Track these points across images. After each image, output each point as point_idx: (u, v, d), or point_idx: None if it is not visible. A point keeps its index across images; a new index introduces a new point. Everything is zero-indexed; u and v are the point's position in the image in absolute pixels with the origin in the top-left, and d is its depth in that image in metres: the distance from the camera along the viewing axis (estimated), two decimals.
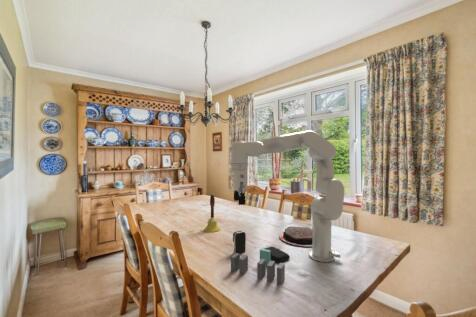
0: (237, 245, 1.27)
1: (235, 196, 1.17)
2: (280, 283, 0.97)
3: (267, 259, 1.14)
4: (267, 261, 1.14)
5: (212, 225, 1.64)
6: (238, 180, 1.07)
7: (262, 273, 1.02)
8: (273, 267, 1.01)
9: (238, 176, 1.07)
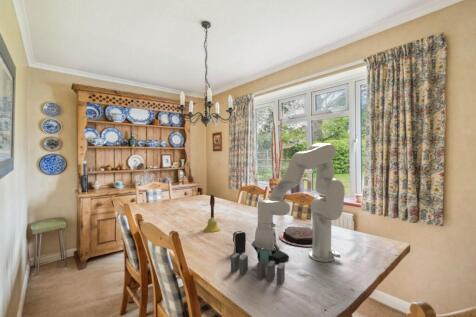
0: (237, 245, 1.27)
1: (259, 256, 1.16)
2: (280, 283, 0.97)
3: (267, 259, 1.14)
4: (267, 261, 1.14)
5: (212, 225, 1.64)
6: (273, 239, 1.12)
7: (262, 273, 1.02)
8: (273, 267, 1.01)
9: (273, 235, 1.12)
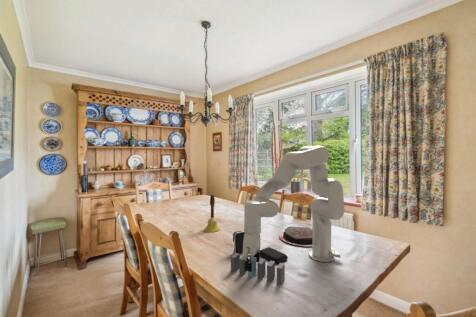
0: (237, 245, 1.27)
1: None
2: (280, 283, 0.97)
3: (255, 266, 1.06)
4: (255, 269, 1.06)
5: (212, 225, 1.64)
6: None
7: (262, 273, 1.02)
8: (273, 267, 1.01)
9: None
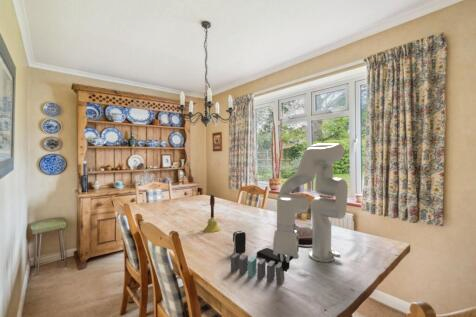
0: (237, 245, 1.27)
1: None
2: (280, 283, 0.97)
3: (255, 266, 1.06)
4: (255, 269, 1.06)
5: (212, 225, 1.64)
6: (296, 244, 0.95)
7: (262, 273, 1.02)
8: (273, 267, 1.01)
9: (295, 239, 0.95)
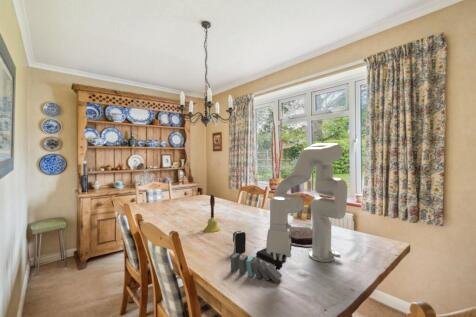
0: (237, 245, 1.27)
1: None
2: (277, 280, 0.98)
3: None
4: None
5: (212, 225, 1.64)
6: (288, 242, 0.96)
7: (259, 271, 1.03)
8: (264, 265, 1.03)
9: (288, 238, 0.96)
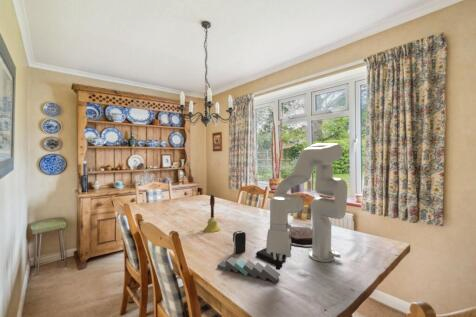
0: (237, 245, 1.27)
1: None
2: (275, 279, 0.98)
3: None
4: None
5: (212, 225, 1.64)
6: (288, 242, 0.96)
7: None
8: (258, 266, 1.04)
9: (288, 238, 0.96)
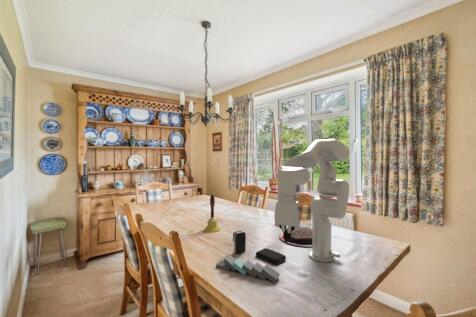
0: (237, 245, 1.27)
1: (286, 236, 0.98)
2: (274, 279, 0.98)
3: None
4: None
5: (212, 225, 1.64)
6: (297, 214, 0.95)
7: None
8: (258, 266, 1.05)
9: (296, 209, 0.95)
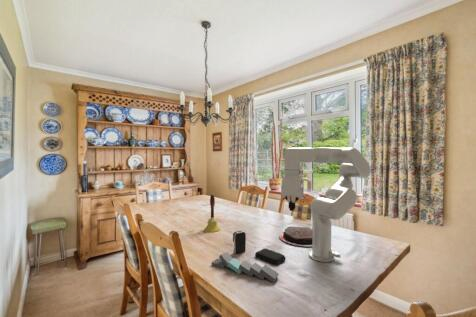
0: (237, 245, 1.27)
1: None
2: (273, 279, 0.98)
3: (239, 263, 1.10)
4: None
5: (212, 225, 1.64)
6: (301, 185, 1.10)
7: None
8: (256, 266, 1.05)
9: (300, 182, 1.10)
